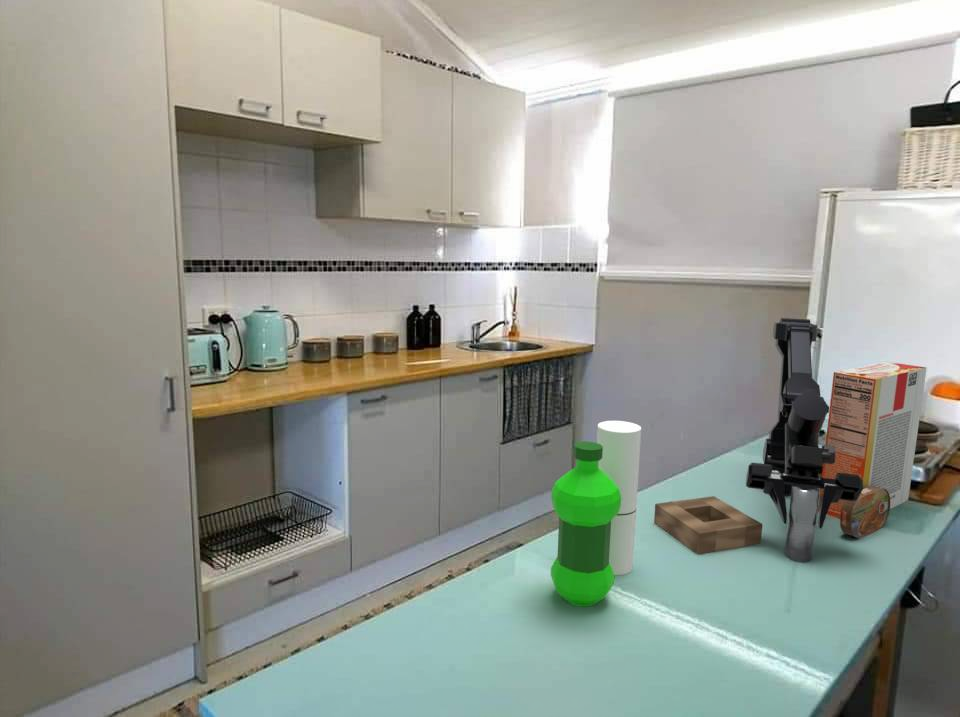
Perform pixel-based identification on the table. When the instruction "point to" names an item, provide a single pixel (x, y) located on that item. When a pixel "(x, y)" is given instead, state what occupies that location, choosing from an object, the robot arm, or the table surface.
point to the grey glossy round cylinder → (801, 522)
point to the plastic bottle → (584, 528)
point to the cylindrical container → (621, 486)
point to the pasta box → (875, 427)
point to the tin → (865, 512)
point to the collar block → (707, 524)
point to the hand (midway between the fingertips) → (802, 525)
